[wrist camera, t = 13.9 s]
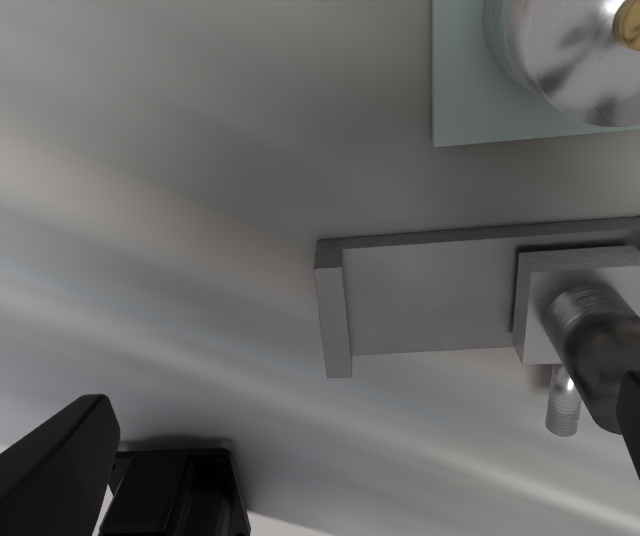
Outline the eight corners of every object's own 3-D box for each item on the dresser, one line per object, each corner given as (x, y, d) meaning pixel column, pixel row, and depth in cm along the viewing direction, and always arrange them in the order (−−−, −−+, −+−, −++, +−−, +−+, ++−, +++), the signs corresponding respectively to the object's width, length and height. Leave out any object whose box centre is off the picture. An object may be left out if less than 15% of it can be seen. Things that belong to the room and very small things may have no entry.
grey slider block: (602, 408, 23) (672, 528, 18) (506, 412, 23) (548, 531, 18) (633, 245, 19) (732, 339, 14) (519, 252, 20) (576, 347, 15)
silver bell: (633, 78, 17) (752, 122, 12) (481, 97, 18) (535, 147, 13) (657, -100, 15) (816, -137, 10) (482, -73, 16) (548, -94, 10)
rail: (639, 325, 22) (668, 361, 20) (329, 342, 24) (327, 378, 22) (662, 214, 20) (699, 242, 18) (317, 240, 21) (313, 269, 19)
